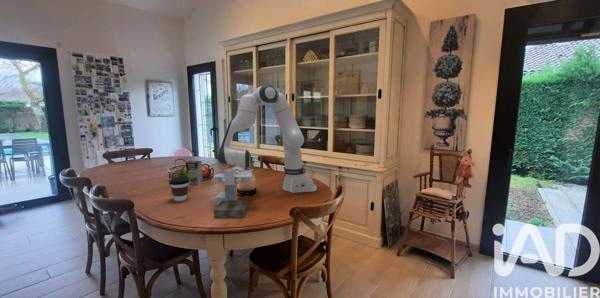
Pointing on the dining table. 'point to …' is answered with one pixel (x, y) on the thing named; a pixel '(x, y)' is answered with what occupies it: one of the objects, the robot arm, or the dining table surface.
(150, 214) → the dining table surface
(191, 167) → the coffee box
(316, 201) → the dining table surface
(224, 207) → the stand
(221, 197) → the stand
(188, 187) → the house plant
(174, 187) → the coffee cup
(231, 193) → the housing
